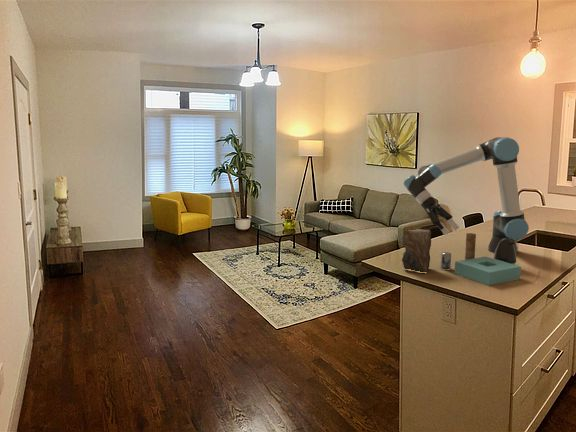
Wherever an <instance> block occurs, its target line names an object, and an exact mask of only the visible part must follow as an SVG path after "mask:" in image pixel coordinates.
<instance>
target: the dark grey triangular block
mask: <svg viewBox="0 0 576 432" xmlns="http://www.w3.org/2000/svg"><path fill="white" fill-rule="evenodd" d="M514 243H515V242H512V241H511V240H510V239H509V238H503V239H501V241H500V242H499V243H498V245H497V248H496V251H495V252H494V255H493V259H496V260H500V261H503V262H507V263H511V264H514V265H516V263H517V253H516V252H515V248H514V245H513V244H514Z"/></svg>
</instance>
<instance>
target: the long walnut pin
mask: <svg viewBox="0 0 576 432" xmlns="http://www.w3.org/2000/svg"><path fill="white" fill-rule="evenodd" d="M465 237H466V238H465V252H464V253H465V255H464V260H467V259H473V258H476V257H475V256H476V239H477V234H476V233H474V232H473V233H470V232H469V233H468V232H467V233H466V235H465Z"/></svg>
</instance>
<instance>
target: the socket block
mask: <svg viewBox="0 0 576 432" xmlns="http://www.w3.org/2000/svg"><path fill="white" fill-rule="evenodd" d="M521 269H522V266H520V265H517V264H515V265H514V264H511V263H507V262H503V261H500V260H496V259H494V257H489V256H481V257H475V258H473V259H467V260H465V259H463V260H456V261H454V274H455V273H456V274H455V275H457V274H458V276H460V275H461V277H463V276H464V277H463V278H466V277H467V278H466V279H469V280H471V279H472V281H474V280H475V281H474V282H477V283H480V284H483V285H486V286H493V285H497V284H502V283H507V282H512V281H517V280H521Z"/></svg>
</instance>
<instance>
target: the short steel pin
mask: <svg viewBox="0 0 576 432" xmlns="http://www.w3.org/2000/svg"><path fill="white" fill-rule="evenodd" d="M440 255H441V257H440V259H441V260H440V269H441V268H442V269H450V270H451V268H452V267H451V266H452V264H451V263H452V253H451V252H448V251H444V252H443V251H442V252H441V254H440ZM442 269H441V270H442Z"/></svg>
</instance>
